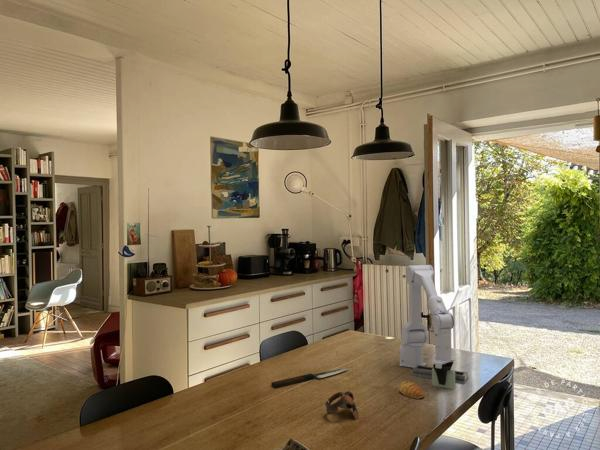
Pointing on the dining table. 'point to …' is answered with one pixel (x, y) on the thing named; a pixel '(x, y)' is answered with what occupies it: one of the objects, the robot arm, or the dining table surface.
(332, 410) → the brown openwork sculpture
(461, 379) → the door track
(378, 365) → the dining table surface
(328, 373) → the kitchen knife
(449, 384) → the door panel
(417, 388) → the pastry
